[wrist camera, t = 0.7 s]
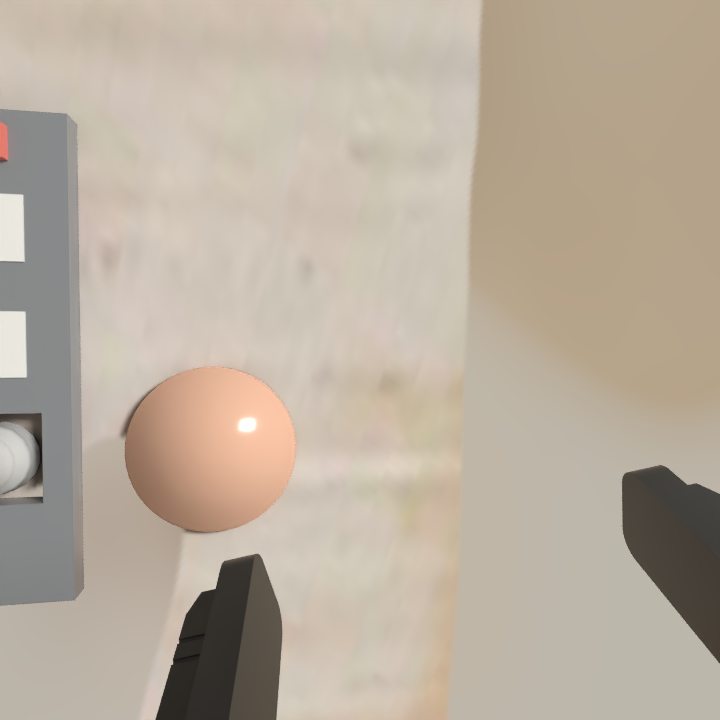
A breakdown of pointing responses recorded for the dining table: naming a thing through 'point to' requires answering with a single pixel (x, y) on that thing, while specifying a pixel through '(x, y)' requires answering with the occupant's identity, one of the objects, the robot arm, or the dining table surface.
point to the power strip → (41, 351)
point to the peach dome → (210, 449)
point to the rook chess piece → (16, 456)
